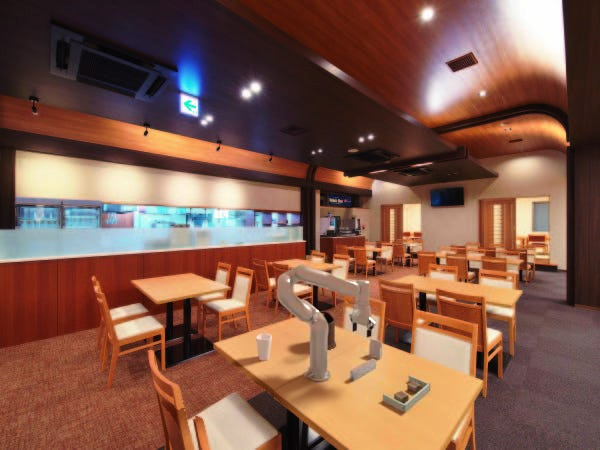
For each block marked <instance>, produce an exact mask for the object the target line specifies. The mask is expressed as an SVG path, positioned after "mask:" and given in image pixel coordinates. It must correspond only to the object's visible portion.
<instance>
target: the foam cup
mask: <svg viewBox="0 0 600 450" xmlns="http://www.w3.org/2000/svg"><path fill="white" fill-rule="evenodd" d="M255 339H256V340H255V342H256V346H257V354H258V359H259V360H260V361H262V362H263V361H268V360H269V359H270V354H271V347H272V341H273V336H272V334H270V333H260V334H258V335H256V337H255Z"/></svg>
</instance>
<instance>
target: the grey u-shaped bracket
mask: <svg viewBox="0 0 600 450" xmlns="http://www.w3.org/2000/svg"><path fill="white" fill-rule="evenodd" d="M413 381H415V382H416V383H418V384H420V385H421V390H420V391H419V392H417V393H415V394H414V395H413V396H412V397H410V399H409V400H408V401H407V402H406V403H404V404H403V403H401V402H399V401H397V400H395V399H394V397H392V396H390V395H387V394H385V393H382V402H384V403H385V404H388V405H389V406H392V407H394V408H395V409H397V410H399V411H400V412H402V413H404V414H406V413H407V412H408V411H409V410H410V409H411V408H412V407H413V406H415V405H416V404H417V403H418V402H419V401H420V400H421V399H422V398H424V397H425V396H426V395H427V394H428V393H429V392H430V391H431V383H429V382H426V381H425V380H422V379H420V378H418V377H415V376H413V375H410V374H409V375H408V382H409V383H411V382H413Z"/></svg>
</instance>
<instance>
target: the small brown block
mask: <svg viewBox="0 0 600 450" xmlns="http://www.w3.org/2000/svg"><path fill="white" fill-rule="evenodd" d="M406 387H407V389H406V390H407V391H409V392H410V393H412V394H414V395H415V394H417V393H418V392H419V391H420V390H421V389H422V387H421V385H420V384H418V383H416V382H415V381H413V382H409V383H407V386H406Z"/></svg>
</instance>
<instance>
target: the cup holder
mask: <svg viewBox="0 0 600 450" xmlns="http://www.w3.org/2000/svg"><path fill="white" fill-rule="evenodd" d="M319 312H320V313H321V314H322V315H323V316H324V318H325V319H326V321H327V323H328V340H327V350H329V351H332V350H331V349H333V350H335V349H336V348H337V346H336V345H337V343H336V340H335V339H336V333H335V332H336V328H335V327H336V326H335V325H336V321H335V320H336V319H335V317H334V316H333V315H332V313H330V312H328V311H325V310H322V311H319ZM335 347H336V348H335ZM334 348H335V349H334Z"/></svg>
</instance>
